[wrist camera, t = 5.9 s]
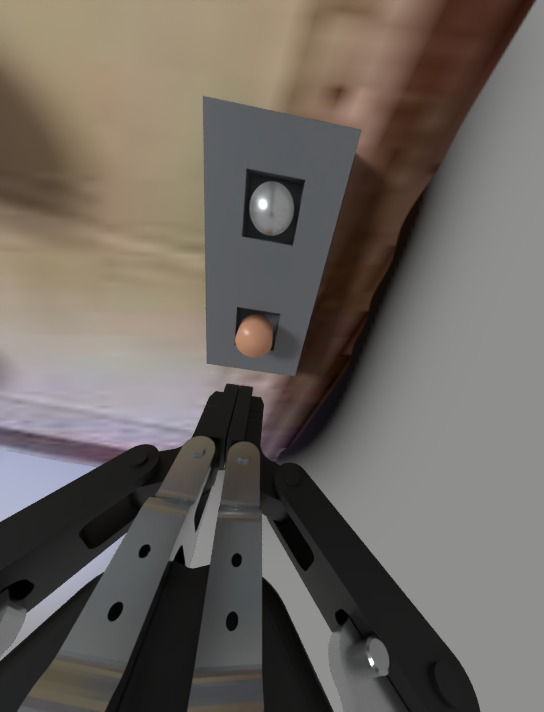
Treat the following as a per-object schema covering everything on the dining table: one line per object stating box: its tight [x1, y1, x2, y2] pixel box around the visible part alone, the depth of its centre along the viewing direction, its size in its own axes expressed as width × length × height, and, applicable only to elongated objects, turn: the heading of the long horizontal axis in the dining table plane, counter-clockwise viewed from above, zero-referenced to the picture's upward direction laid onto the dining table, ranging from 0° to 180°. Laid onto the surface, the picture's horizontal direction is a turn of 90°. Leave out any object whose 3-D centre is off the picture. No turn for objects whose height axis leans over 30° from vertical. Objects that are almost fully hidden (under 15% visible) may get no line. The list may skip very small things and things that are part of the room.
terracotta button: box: [235, 314, 273, 358], centre depth 24 cm, size 4×4×3 cm
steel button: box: [249, 181, 294, 236], centre depth 20 cm, size 4×4×3 cm
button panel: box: [203, 96, 361, 376], centre depth 24 cm, size 24×12×4 cm, turn 171°
